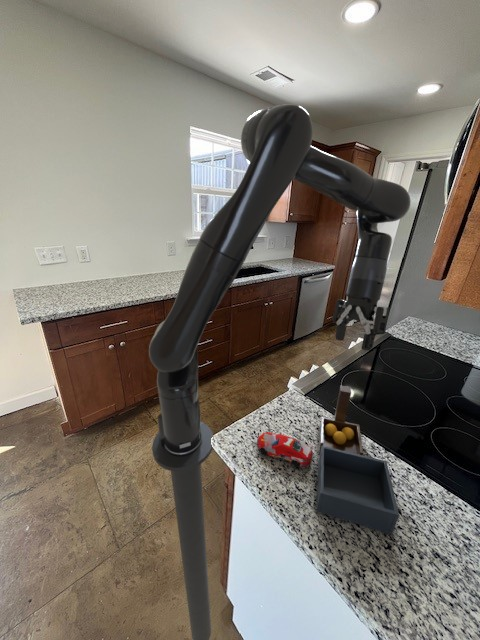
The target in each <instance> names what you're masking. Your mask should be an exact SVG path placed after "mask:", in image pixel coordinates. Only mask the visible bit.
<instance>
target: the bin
mask: <svg viewBox="0 0 480 640" xmlns="http://www.w3.org/2000/svg"><path fill="white" fill-rule="evenodd" d="M316 512H317V513H320V514H323V515H325V516H326V515H327V516H330V517H333V518H336V519H339V520H343V521H345V522H350V523H353V524H355V525H359V526H362V527H366V528H369V529H372V530H375V531H379V532H381V533H385V534H389V535H393V533H394V530H395V528H396V525H397V523H398V520H399V517H400V512H399V509H398V504H397V500H396V495H395V492H394V487H393V483H392V479H391V474H390V470H389V466H388V461H386V460H383V459H379V458H375V457H371V456H367V455H364V454H363V455H359V454H355V453H350V452H346V451H342V450H338V449H334V448H330V447H326V446H321V451H320V455H318V463H317V489H316Z"/></svg>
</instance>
